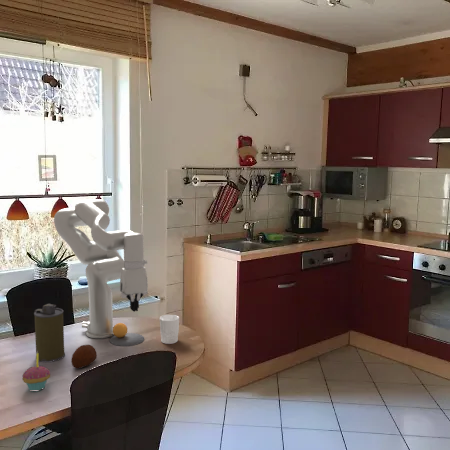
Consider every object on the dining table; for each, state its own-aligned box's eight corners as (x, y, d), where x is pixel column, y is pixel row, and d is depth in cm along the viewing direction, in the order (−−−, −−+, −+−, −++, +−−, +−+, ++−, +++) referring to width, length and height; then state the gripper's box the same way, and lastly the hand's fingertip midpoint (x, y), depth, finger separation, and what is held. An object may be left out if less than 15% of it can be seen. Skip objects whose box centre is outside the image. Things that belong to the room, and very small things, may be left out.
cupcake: (27, 382, 168) (26, 348, 166) (53, 382, 169) (52, 347, 167) (19, 395, 160) (17, 359, 158) (47, 394, 160) (45, 358, 159)
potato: (102, 360, 186) (102, 340, 185) (86, 373, 175) (85, 352, 174) (84, 358, 188) (83, 338, 187) (66, 371, 177) (66, 349, 176)
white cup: (180, 337, 210) (180, 314, 209) (177, 345, 202) (177, 321, 201) (162, 337, 211) (162, 314, 209) (157, 344, 203) (157, 320, 202)
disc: (103, 344, 202) (103, 343, 202) (119, 332, 216) (119, 331, 216) (135, 347, 199) (135, 347, 199) (149, 335, 212) (149, 335, 212)
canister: (70, 353, 193) (69, 302, 190) (53, 363, 183) (51, 310, 180) (47, 349, 197) (45, 299, 194) (28, 359, 187) (26, 307, 184)
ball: (107, 331, 208) (117, 335, 205) (115, 318, 211) (124, 322, 207) (115, 337, 212) (125, 341, 209) (123, 325, 215) (132, 328, 211)
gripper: (148, 260, 202) (148, 305, 205) (112, 264, 194) (112, 310, 197) (155, 264, 196) (156, 310, 198) (118, 268, 188) (119, 316, 191)
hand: (134, 310), depth 198 cm, fingers closed
